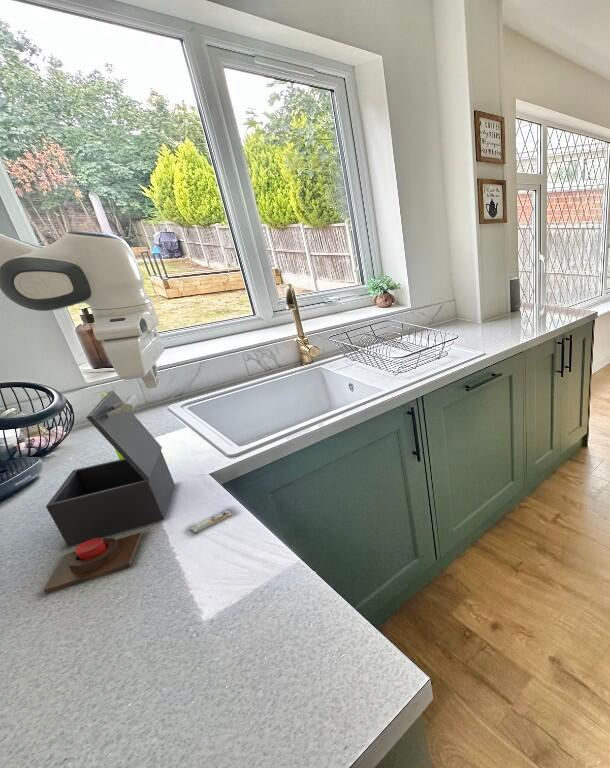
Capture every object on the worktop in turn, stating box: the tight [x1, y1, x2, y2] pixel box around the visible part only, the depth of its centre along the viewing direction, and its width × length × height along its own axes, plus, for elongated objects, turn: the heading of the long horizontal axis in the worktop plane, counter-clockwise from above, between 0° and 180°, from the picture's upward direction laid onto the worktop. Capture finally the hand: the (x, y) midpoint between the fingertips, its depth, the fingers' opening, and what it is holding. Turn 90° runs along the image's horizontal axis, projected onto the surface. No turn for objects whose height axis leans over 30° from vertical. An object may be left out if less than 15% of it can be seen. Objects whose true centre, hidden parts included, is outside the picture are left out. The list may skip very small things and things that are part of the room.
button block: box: [43, 532, 143, 595], centre depth 74 cm, size 11×9×3 cm
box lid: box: [86, 390, 163, 480], centre depth 83 cm, size 15×14×5 cm
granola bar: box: [189, 510, 232, 533], centre depth 84 cm, size 7×2×1 cm, turn 142°
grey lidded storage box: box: [45, 451, 176, 548], centre depth 85 cm, size 15×14×10 cm
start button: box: [74, 537, 106, 560], centre depth 73 cm, size 4×4×2 cm
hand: (153, 385), depth 85 cm, fingers closed
